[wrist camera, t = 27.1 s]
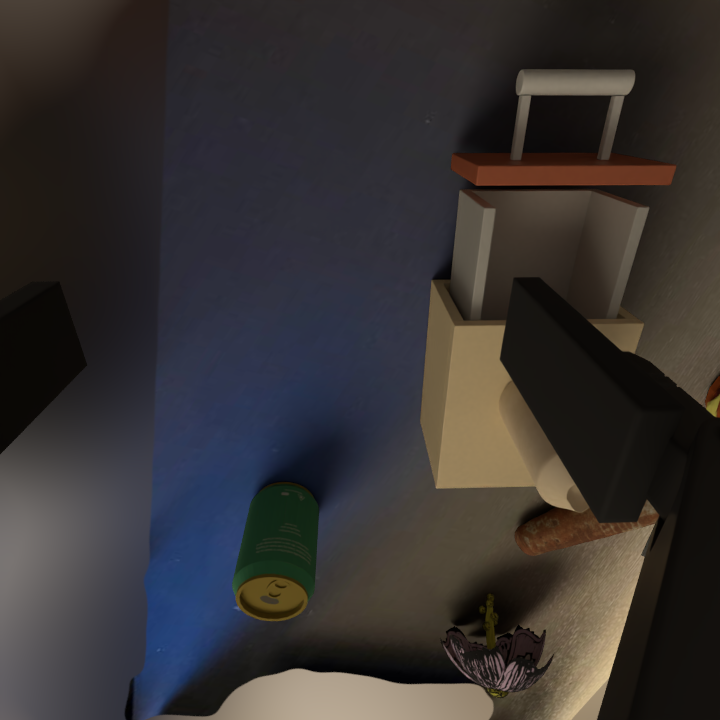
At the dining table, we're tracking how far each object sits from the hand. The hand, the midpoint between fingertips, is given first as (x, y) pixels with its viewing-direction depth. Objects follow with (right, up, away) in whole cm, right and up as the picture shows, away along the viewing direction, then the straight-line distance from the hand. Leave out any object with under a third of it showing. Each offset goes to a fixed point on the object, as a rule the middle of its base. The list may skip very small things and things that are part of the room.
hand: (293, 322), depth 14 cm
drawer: (+15, +11, +24) cm, 31 cm away
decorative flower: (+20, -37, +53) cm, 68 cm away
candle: (+16, -4, +23) cm, 28 cm away
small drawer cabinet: (+15, -1, +32) cm, 35 cm away
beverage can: (-7, -18, +41) cm, 45 cm away
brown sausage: (+30, -18, +42) cm, 55 cm away
